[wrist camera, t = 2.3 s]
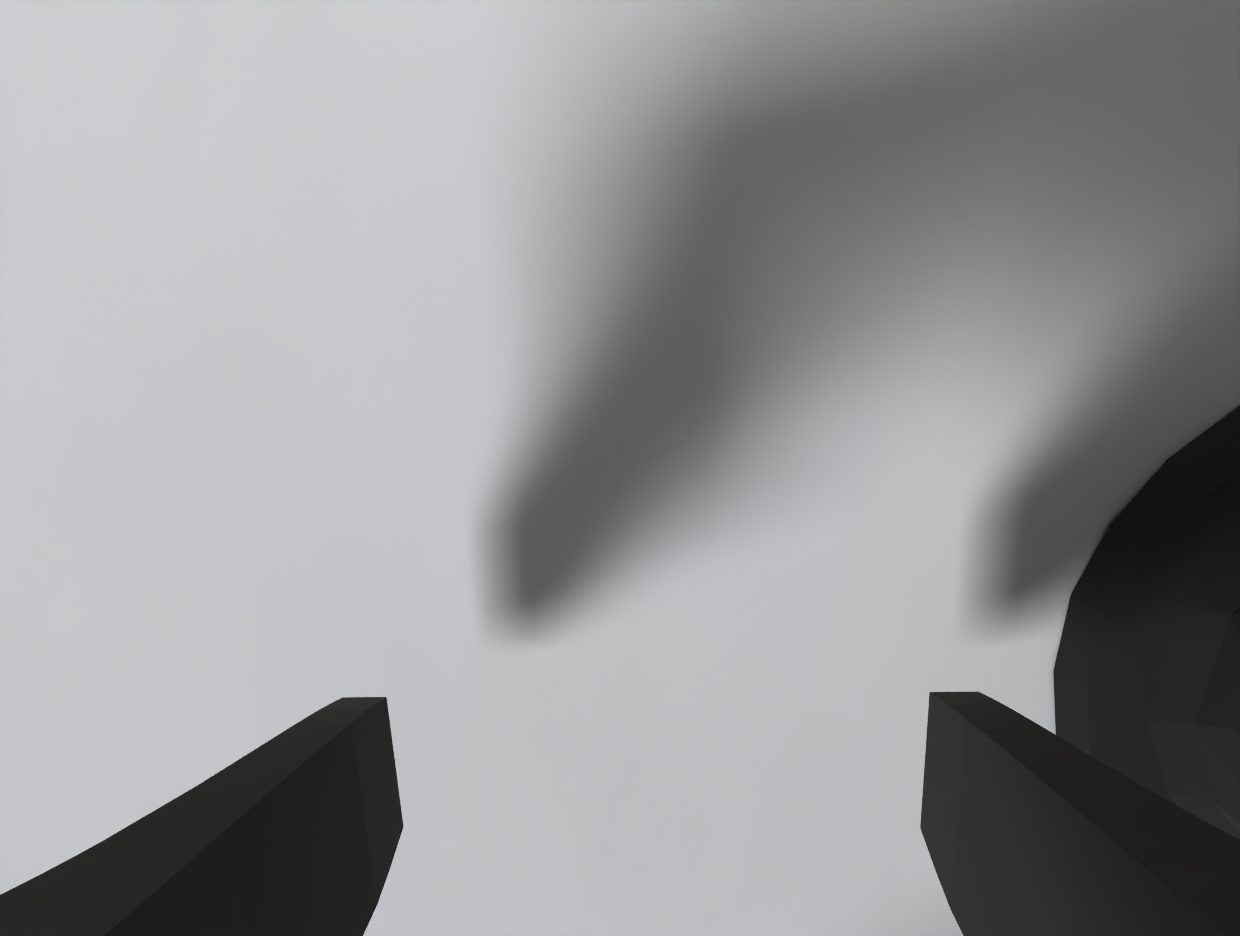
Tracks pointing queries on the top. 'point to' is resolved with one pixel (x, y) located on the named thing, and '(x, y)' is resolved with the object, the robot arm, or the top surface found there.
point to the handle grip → (1164, 636)
